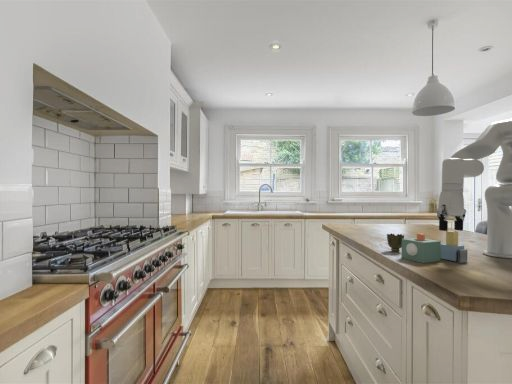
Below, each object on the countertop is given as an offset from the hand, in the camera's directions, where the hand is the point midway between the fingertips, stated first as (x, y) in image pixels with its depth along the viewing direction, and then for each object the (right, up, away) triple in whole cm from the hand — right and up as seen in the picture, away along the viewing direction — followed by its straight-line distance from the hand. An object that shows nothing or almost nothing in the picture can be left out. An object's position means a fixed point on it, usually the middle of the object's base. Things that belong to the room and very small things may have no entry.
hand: (451, 230), depth 122 cm
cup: (-15, -12, +17) cm, 26 cm away
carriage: (0, -12, 0) cm, 12 cm away
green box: (-12, -12, +1) cm, 17 cm away
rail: (-1, -12, +5) cm, 13 cm away
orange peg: (-12, -9, +1) cm, 15 cm away
